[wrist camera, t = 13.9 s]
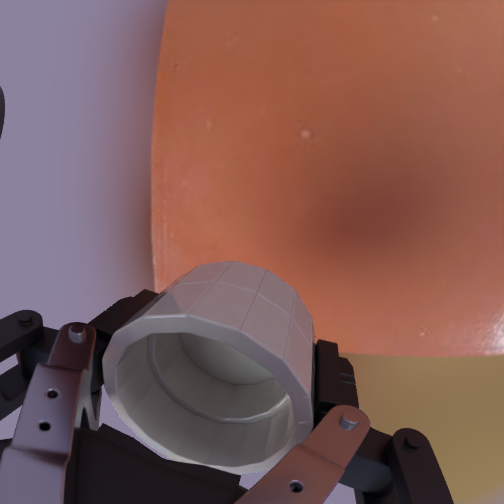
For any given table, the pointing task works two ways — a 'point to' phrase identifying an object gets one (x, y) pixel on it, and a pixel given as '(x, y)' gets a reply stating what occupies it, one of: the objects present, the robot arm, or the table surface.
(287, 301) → the white round cup
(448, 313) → the table surface
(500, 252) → the table surface
